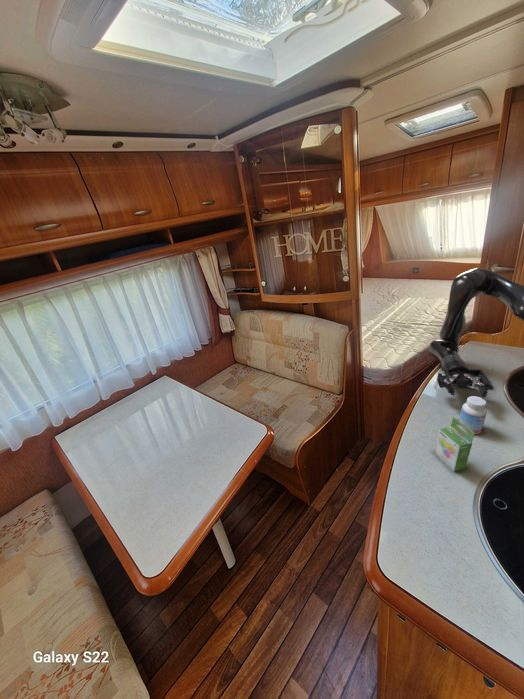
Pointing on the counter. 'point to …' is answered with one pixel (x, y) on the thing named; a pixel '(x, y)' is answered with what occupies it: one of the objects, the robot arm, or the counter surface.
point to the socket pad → (476, 374)
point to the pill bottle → (473, 414)
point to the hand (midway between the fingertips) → (468, 394)
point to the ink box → (454, 445)
